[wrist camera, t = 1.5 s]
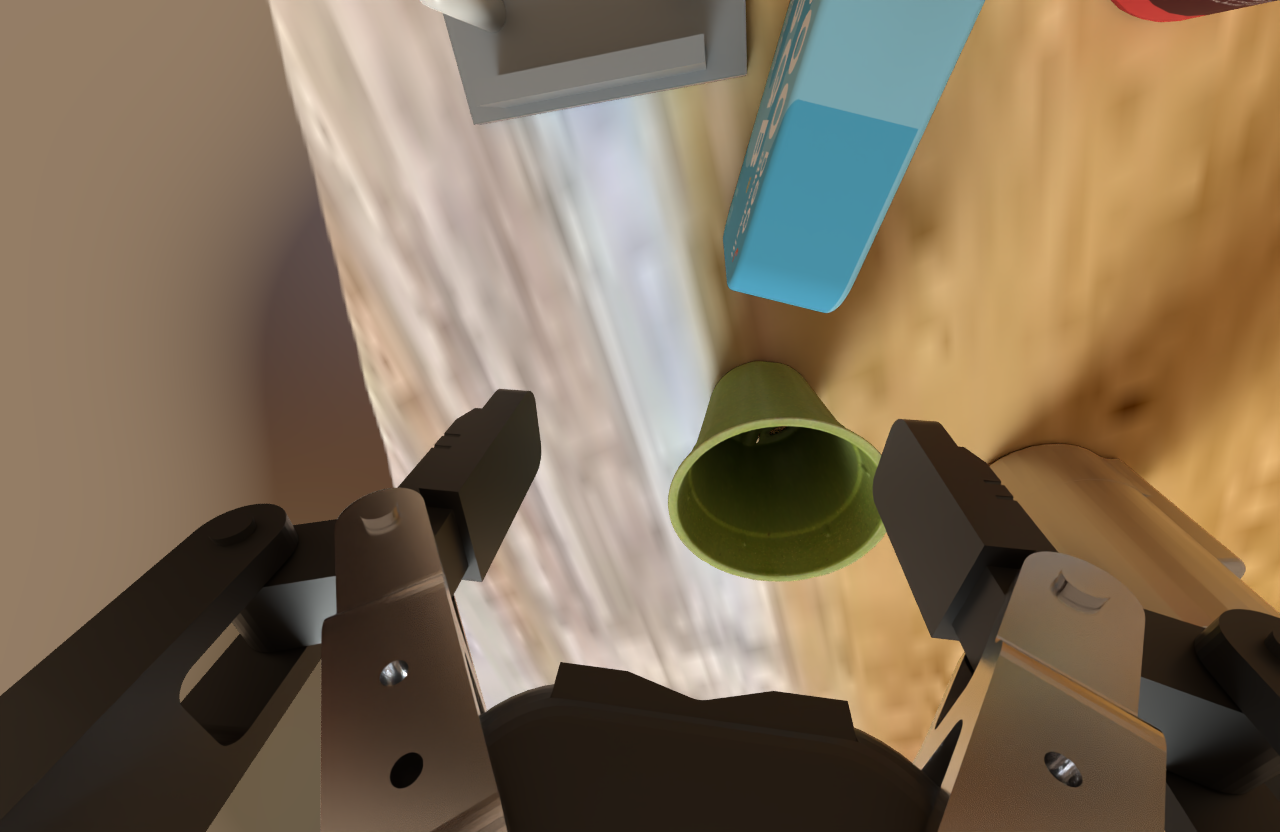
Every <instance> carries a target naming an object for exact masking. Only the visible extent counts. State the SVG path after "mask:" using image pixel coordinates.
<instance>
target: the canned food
mask: <svg viewBox="0 0 1280 832" xmlns="http://www.w3.org/2000/svg"><path fill="white" fill-rule="evenodd" d="M1111 1H1112V2H1113V3H1114V4H1115V5H1116V6H1117V7H1118V8H1119V9H1121V10H1123V11H1124V12H1126V13H1128V14H1130V15H1132V16H1135V17H1138V18H1141V19H1144V20H1150V21H1155V22H1170V21H1181V20H1186V19H1190V18H1195V17H1200V16H1205V15H1210V14H1214V13H1219V12H1224V11H1229V10H1234V9H1238V8H1243V7H1248V6H1253V5H1258V4H1262V3H1267V2H1272V1H1277V0H1111Z"/></svg>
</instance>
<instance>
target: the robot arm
mask: <svg viewBox="0 0 1280 832" xmlns="http://www.w3.org/2000/svg"><path fill="white" fill-rule="evenodd" d="M540 460H541V441H540V433H539V426H538V418H537V410H536V403H535V398H534V395H533V393H532V392H531V391H521V390H507V389H498V390H497V391H496V392H495V393H494V394H493V396H492V397H491V398H490V399H489V401H488V402H487V403H486V404H485V406H484V407H483V408H482V409H481V408H474V409H473V410H471V411H469V412H468V413H466V414H464V415H463V416H461V417H459V418H458V419H456V420H455V421H454V423H453V424H452V425H451V426H450V427H449V428H448V430H447V431H446V432H445V433H444V436H442V437H441V438H440V439H439V440H438V441H437V442H436V444H435V447H434V448H431V449H430V451H429V452H428V453H427V454H426V455H425V456H424V457H423V459H422V460H421V461H420V462H419V463H418V464H417V466H416V467H415V468H414V469H413V470H412V471H411V473H410V474H409V475H408V476H407V477H406V478H405V480H404V481H403V482H402V483H401V484H400V485H399V487H398V488H389V489H383V490H379V491H376V492H373V493H370V494H368V495H366V496H363V497H361V498H360V499H358V500H356V501H355V502H353V503H352V504H350V505H349V506H348V507H347V508H346V509H345V510H344V511H343V512H342V513H341V514H340V515H339V517H338V519H335V520H328V521H321V522H313V523H307V524H299V525H292V524H291V521H290V520H289V518H288V516H287V514H286V512H285V511H284V510H283V509H282V508H281V507H279V506H277V505H273V504H254V505H248V506H244V507H240V508H237V509H234V510H231V511H228V512H226V513H224V514H222V515H219V516H217V517H215V518H214V519H212V520H210V521H209V522H207V523H205V524H204V525H202V526H201V527H200V528H198V529H197V530H196V531H195V532H193V533H192V534H191V535H190V536H189V537H187V538H186V539H185V540H184V541H183V542H182V543H180V544H179V545H178V546H177V547H176V548H175V549H173V550H172V551H171V552H170V553H168V554H167V555H166V556H165V557H164V558H163V559H161V560H160V561H159V562H158V563H157V564H156V565H154V566H153V567H152V568H151V569H150V570H148V571H147V572H146V573H145V574H144V575H143V576H141V577H140V578H139V579H138V580H137V581H135V582H134V583H133V584H132V585H131V586H130V587H128V588H127V589H126V590H125V591H124V592H122V593H121V594H120V595H119V596H118V597H117V598H115V599H114V600H113V601H112V602H111V603H109V604H108V605H107V606H106V607H105V608H104V609H102V610H101V611H100V612H99V613H98V614H97V615H96V616H94V617H93V618H92V619H91V620H89V621H88V622H87V623H86V624H85V625H84V626H82V627H81V628H80V629H79V630H78V631H77V632H75V633H74V634H73V635H72V636H71V637H69V638H68V639H67V640H66V641H65V642H63V643H62V644H61V645H60V646H59V647H58V648H57V649H55V650H54V651H53V652H52V653H51V654H50V655H48V656H47V657H46V658H45V659H43V660H42V661H41V662H40V663H39V664H38V665H36V667H34V668H33V669H32V670H30V671H29V672H28V673H27V674H26V675H25V676H23V677H22V678H21V679H20V680H19V681H18V682H16V683H15V684H14V685H13V686H12V687H11V688H9V689H8V690H7V691H6V692H4V693H3V694H2V695H1V696H0V832H206V831H207V829H208V828H209V826H210V825H211V823H212V821H213V820H214V819H215V817H216V816H217V814H218V812H219V811H220V809H221V808H222V807H223V805H224V804H225V802H226V800H227V799H228V798H229V796H230V794H231V793H232V792H233V790H234V789H235V787H236V785H237V784H238V782H239V781H240V779H241V778H242V776H243V775H244V773H245V772H246V770H247V769H248V767H249V766H250V764H251V763H252V761H253V760H254V758H255V757H256V755H257V754H258V752H259V751H260V749H261V748H262V746H263V745H264V743H265V742H266V740H267V739H268V737H269V736H270V734H271V733H272V731H273V730H274V728H275V727H276V725H277V724H278V722H279V721H280V719H281V718H282V716H283V715H284V713H285V712H286V710H287V709H288V707H289V706H290V704H291V703H292V701H293V700H294V698H295V697H296V695H297V694H298V692H299V691H300V689H301V688H302V686H303V685H304V683H305V682H306V680H307V679H308V677H309V676H310V674H311V673H312V671H313V670H314V668H315V667H316V665H317V664H318V662H319V661H320V659H321V832H1164V830H1165V832H1280V613H1279V612H1278V611H1276V610H1275V609H1274V608H1273V607H1272V606H1271V605H1269V604H1268V603H1267V602H1266V601H1265V600H1264V599H1263V598H1261V597H1260V596H1259V595H1258V594H1257V593H1256V592H1254V591H1253V590H1252V589H1251V588H1250V587H1249V586H1248V585H1246V584H1245V583H1244V582H1243V581H1242V580H1241V577H1242V576H1243V575H1244V573H1245V570H1246V568H1245V565H1244V563H1243V562H1242V561H1241V560H1240V559H1239V558H1238V557H1237V556H1236V555H1235V554H1233V553H1232V552H1231V551H1230V550H1229V549H1227V548H1226V547H1225V546H1224V545H1222V544H1221V543H1220V542H1219V541H1218V540H1216V539H1215V538H1214V537H1213V536H1212V535H1210V534H1209V533H1208V532H1207V531H1206V530H1204V529H1203V528H1202V527H1201V526H1200V525H1198V524H1197V523H1196V522H1195V521H1194V520H1192V519H1191V518H1190V517H1189V516H1188V515H1186V514H1185V513H1184V512H1183V511H1181V510H1180V509H1179V508H1178V507H1177V506H1175V505H1174V504H1173V503H1172V502H1171V501H1169V500H1168V499H1167V498H1166V497H1165V496H1163V495H1162V494H1161V493H1160V492H1159V491H1157V490H1156V489H1155V488H1154V487H1153V486H1151V485H1150V484H1149V483H1148V482H1147V481H1145V480H1144V479H1143V478H1142V477H1140V476H1139V475H1138V474H1137V473H1136V472H1134V471H1133V470H1132V469H1131V468H1130V467H1128V466H1127V465H1126V464H1125V463H1124V462H1122V461H1121V460H1120V459H1106V458H1102V457H1100V456H1098V455H1097V454H1095V453H1093V452H1092V451H1090V450H1088V449H1085V448H1082V447H1079V446H1076V445H1068V444H1045V445H1039V446H1033V447H1029V448H1025V449H1022V450H1019V451H1016V452H1013V453H1011V454H1009V455H1007V456H1005V457H1003V458H1001V459H999V460H997V461H996V462H994V463H993V464H991V465H990V466H989V465H988V464H987V463H986V462H984V461H983V460H981V459H980V458H979V457H977V456H976V455H974V454H973V453H971V452H970V451H969V450H967V449H966V448H964V447H958V446H957V445H956V443H955V442H954V441H953V439H952V438H951V437H950V435H949V434H948V433H947V431H946V430H945V429H944V427H943V426H942V425H941V424H940V423H939V422H934V421H921V420H907V419H898V420H896V421H895V422H894V424H893V425H892V427H891V430H890V433H889V436H888V438H887V441H886V444H885V447H884V450H883V452H882V455H881V458H880V461H879V464H878V467H877V469H876V472H875V475H874V479H873V499H874V503H875V506H876V508H877V510H878V513H879V515H880V517H881V520H882V522H883V524H884V527H885V529H886V532H887V534H888V536H889V539H890V541H891V543H892V546H893V548H894V550H895V553H896V555H897V557H898V560H899V562H900V565H901V567H902V569H903V572H904V574H905V576H906V579H907V581H908V583H909V586H910V588H911V590H912V593H913V595H914V598H915V600H916V602H917V605H918V607H919V609H920V612H921V614H922V616H923V619H924V621H925V623H926V626H927V628H928V631H929V633H930V635H931V637H932V638H940V639H949V640H957V641H960V643H961V645H962V647H963V649H964V651H965V652H964V653H963V655H962V656H961V658H960V659H959V661H958V663H957V665H956V667H955V670H954V672H953V674H952V677H951V679H950V682H949V684H948V686H947V689H946V691H945V693H944V696H943V698H942V700H941V703H940V705H939V707H938V710H937V712H936V715H935V717H934V719H933V722H932V724H931V726H930V729H929V731H928V733H927V736H926V738H925V740H924V742H923V745H922V747H921V749H920V750H919V752H918V754H917V756H916V758H915V759H914V761H913V763H912V762H910V761H909V760H908V759H907V758H905V757H904V756H903V755H902V754H900V753H899V752H897V751H896V750H894V749H893V748H891V747H890V746H888V745H887V744H885V743H883V742H882V741H880V740H878V739H876V738H875V737H873V736H871V735H869V734H867V733H865V732H863V731H861V730H859V729H856V728H854V727H853V722H852V718H851V714H850V709H849V705H848V701H843V700H836V699H829V698H821V697H814V696H806V695H799V694H792V693H784V692H777V691H770V692H763V693H756V694H748V695H741V696H734V697H726V698H719V699H712V700H696V699H693V698H690V697H688V696H685V695H683V694H681V693H678V692H676V691H673V690H671V689H669V688H666V687H664V686H662V685H659V684H657V683H654V682H652V681H650V680H647V679H645V678H642V677H640V676H638V675H635V674H633V673H631V672H628V671H622V670H615V669H607V668H600V667H593V666H585V665H578V664H570V663H563V662H560V666H559V669H558V673H557V676H556V680H555V684H553V685H546V686H542V687H538V688H535V689H531V690H527V691H525V692H522V693H520V694H517V695H515V696H513V697H510V698H508V699H507V700H505V701H503V702H501V703H499V704H497V705H495V706H494V707H492V708H491V709H489V710H488V711H487V709H486V706H485V702H484V699H483V696H482V692H481V689H480V686H479V682H478V679H477V675H476V671H475V668H474V664H473V661H472V657H471V653H470V650H469V646H468V642H467V639H466V635H465V631H464V628H463V624H462V621H461V617H460V613H459V610H458V606H457V602H456V599H455V596H454V593H455V591H456V589H457V587H458V585H459V583H460V582H461V580H469V581H477V582H482V581H483V579H484V577H485V575H486V573H487V571H488V569H489V567H490V565H491V563H492V561H493V559H494V557H495V555H496V553H497V551H498V549H499V547H500V545H501V543H502V541H503V539H504V537H505V535H506V533H507V531H508V529H509V527H510V525H511V523H512V521H513V519H514V517H515V515H516V513H517V511H518V509H519V507H520V505H521V503H522V501H523V499H524V497H525V495H526V493H527V491H528V489H529V487H530V485H531V483H532V481H533V479H534V477H535V475H536V473H537V471H538V469H539V465H540ZM231 622H232V623H233V624H234V626H235V627H236V629H237V630H238V631H239V633H240V634H239V635H238V636H237V638H236V639H235V640H234V641H233V642H232V644H231V645H230V646H229V647H228V648H227V649H226V650H225V652H224V653H223V654H222V655H221V656H220V658H219V659H218V660H217V661H216V662H215V663H214V665H213V666H212V667H211V668H210V669H209V671H208V672H207V673H206V674H205V675H204V676H203V677H202V679H201V680H200V681H199V682H198V683H197V685H196V686H195V687H194V688H193V689H192V690H191V691H190V693H189V694H188V695H187V696H186V697H185V698H184V700H183V701H182V702H181V703H180V699H179V694H180V688H181V685H182V682H183V680H184V678H185V676H186V674H187V673H188V671H189V670H190V669H191V667H192V666H193V665H194V664H195V663H196V662H197V660H198V659H199V658H200V657H201V656H202V655H203V654H204V653H205V651H206V650H207V649H208V648H209V647H210V646H211V645H212V644H213V643H214V641H215V640H216V639H217V638H218V637H219V636H220V635H221V634H222V632H223V631H224V630H225V629H226V628H227V627H228V626H229V624H230V623H231Z"/></svg>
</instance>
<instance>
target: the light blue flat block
mask: <svg viewBox="0 0 1280 832" xmlns="http://www.w3.org/2000/svg"><path fill="white" fill-rule="evenodd" d="M984 2H985V0H791V1H790V4H789V7H788V10H787V14H786V17H785V20H784V24H783V27H782V31H781V34H780V37H779V41H778V44H777V48H776V51H775V55H774V58H773V62H772V65H771V69H770V72H769V75H768V79H767V82H766V86H765V89H764V93H763V96H762V100H761V103H760V107H759V110H758V113H757V117H756V120H755V124H754V127H753V131H752V134H751V138H750V141H749V145H748V148H747V151H746V155H745V158H744V162H743V165H742V169H741V172H740V176H739V179H738V183H737V186H736V189H735V193H734V196H733V200H732V203H731V207H730V210H729V214H728V217H727V221H726V225H725V230H724V235H723V244H724V255H725V265H726V276H727V285H728V287H729V288H730V289H731V290H734V291H738V292H742V293H746V294H750V295H754V296H758V297H762V298H766V299H770V300H774V301H778V302H782V303H787V304H791V305H795V306H799V307H803V308H807V309H811V310H815V311H819V312H823V313H829V312H832V311H834V310H835V309H837V308H838V307H839V306H840V305H841V304H842V302H843V301H844V300H845V298H846V297H847V295H848V294H849V292H850V290H851V288H852V286H853V284H854V282H855V280H856V277H857V275H858V273H859V271H860V269H861V267H862V265H863V262H864V260H865V258H866V256H867V254H868V252H869V250H870V247H871V245H872V243H873V241H874V239H875V237H876V234H877V232H878V230H879V228H880V226H881V224H882V222H883V219H884V217H885V215H886V213H887V211H888V209H889V206H890V204H891V202H892V200H893V198H894V196H895V194H896V191H897V189H898V187H899V185H900V183H901V181H902V178H903V176H904V174H905V172H906V170H907V168H908V166H909V163H910V161H911V159H912V157H913V155H914V153H915V150H916V148H917V146H918V144H919V142H920V140H921V138H922V135H923V133H924V131H925V129H926V127H927V125H928V123H929V120H930V118H931V116H932V114H933V112H934V110H935V107H936V105H937V103H938V101H939V99H940V97H941V95H942V92H943V90H944V88H945V86H946V84H947V82H948V79H949V77H950V75H951V73H952V71H953V69H954V67H955V64H956V62H957V60H958V58H959V56H960V54H961V51H962V49H963V47H964V45H965V43H966V41H967V39H968V36H969V34H970V32H971V30H972V28H973V26H974V23H975V21H976V19H977V17H978V15H979V13H980V11H981V8H982V6H983V4H984Z"/></svg>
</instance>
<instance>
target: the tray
mask: <svg viewBox="0 0 1280 832" xmlns="http://www.w3.org/2000/svg"><path fill="white" fill-rule="evenodd" d="M419 1H420V2H421V3H422V4H424V5H425V6H427V7H429V8H431V9H434V10H436V11H439V12H441V13H443V15H444V19H445V23H446V26H447V30H448V33H449V37H450V41H451V44H452V48H453V51H454V55H455V58H456V62H457V66H458V69H459V73H460V76H461V80H462V84H463V87H464V91H465V94H466V98H467V102H468V105H469V109H470V112H471V116H472V119H473V123H474V125H481V124H487V123H492V122H498V121H503V120H508V119H514V118H519V117H525V116H530V115H536V114H541V113H546V112H552V111H557V110H563V109H568V108H574V107H579V106H584V105H590V104H595V103H601V102H606V101H612V100H617V99H622V98H628V97H633V96H639V95H644V94H649V93H655V92H660V91H666V90H671V89H677V88H682V87H687V86H693V85H698V84H704V83H709V82H715V81H720V80H725V79H731V78H736V77H742V76H746V75H747V51H746V3H745V0H419Z"/></svg>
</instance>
